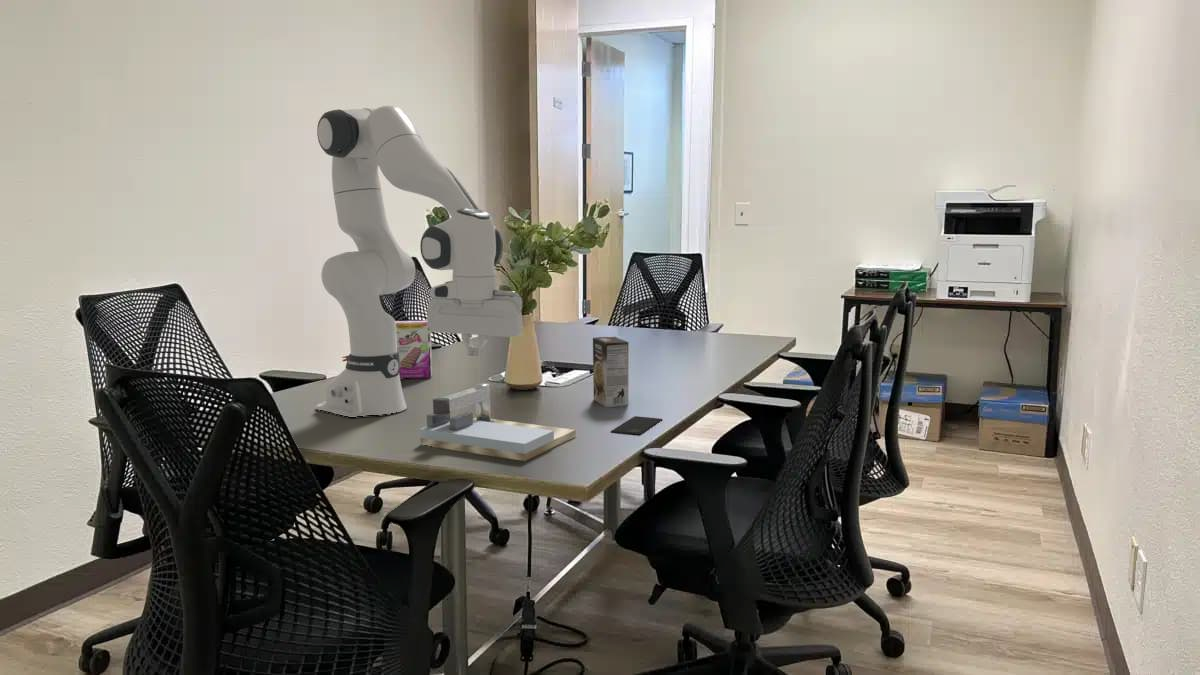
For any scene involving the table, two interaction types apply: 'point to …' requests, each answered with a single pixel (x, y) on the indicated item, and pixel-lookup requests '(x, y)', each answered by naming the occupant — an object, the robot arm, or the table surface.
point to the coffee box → (610, 371)
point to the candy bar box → (414, 349)
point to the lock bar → (466, 402)
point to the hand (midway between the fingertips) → (475, 355)
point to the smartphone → (636, 425)
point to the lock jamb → (491, 436)
